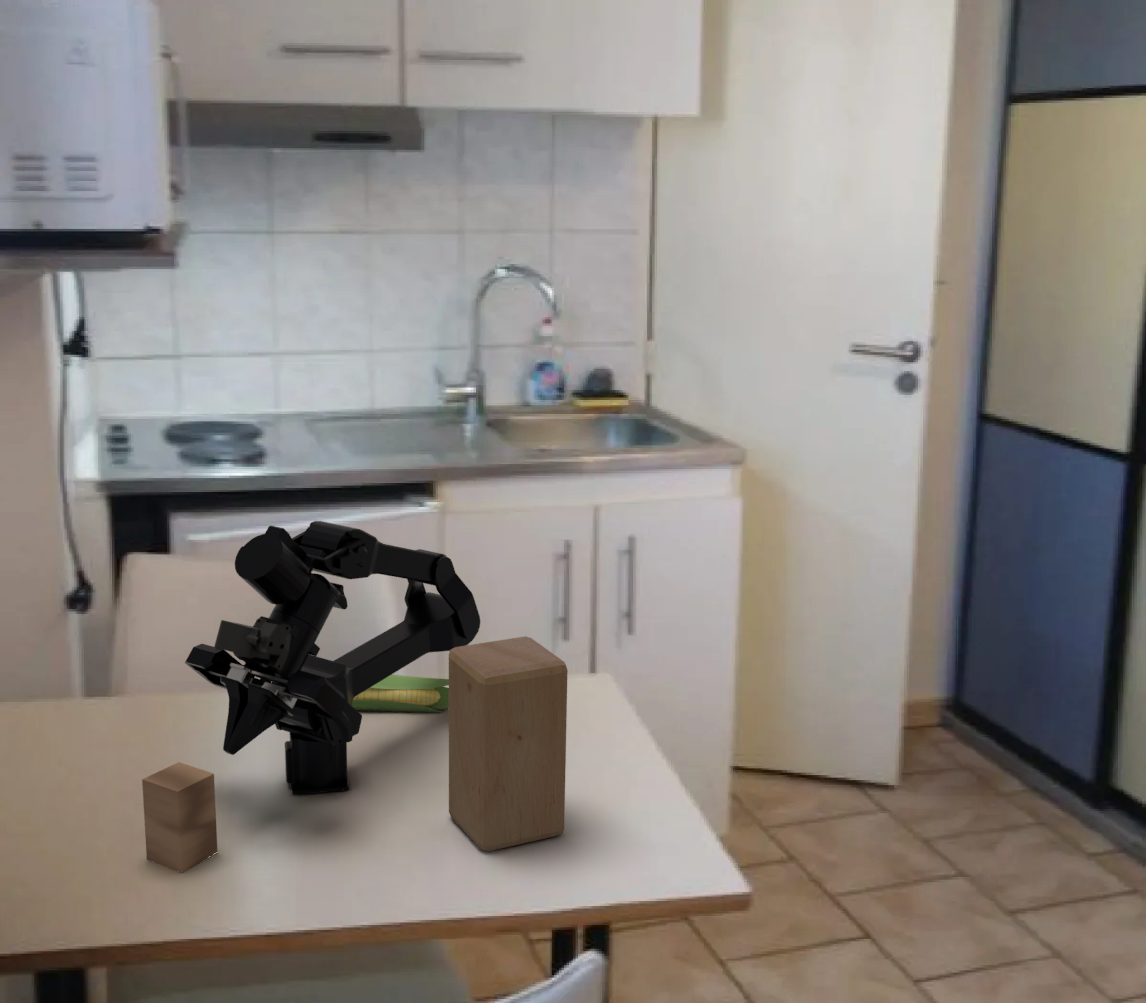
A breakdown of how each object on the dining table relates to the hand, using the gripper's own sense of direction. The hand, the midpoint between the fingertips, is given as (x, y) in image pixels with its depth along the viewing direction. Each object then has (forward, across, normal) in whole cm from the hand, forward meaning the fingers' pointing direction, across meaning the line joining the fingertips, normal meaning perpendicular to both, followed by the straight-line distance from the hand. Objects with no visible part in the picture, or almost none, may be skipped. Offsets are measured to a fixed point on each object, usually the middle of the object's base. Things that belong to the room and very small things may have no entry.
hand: (227, 752), depth 156 cm
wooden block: (-5, +24, +19) cm, 31 cm away
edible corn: (-18, -7, +32) cm, 38 cm away
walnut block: (+11, 0, +1) cm, 11 cm away
